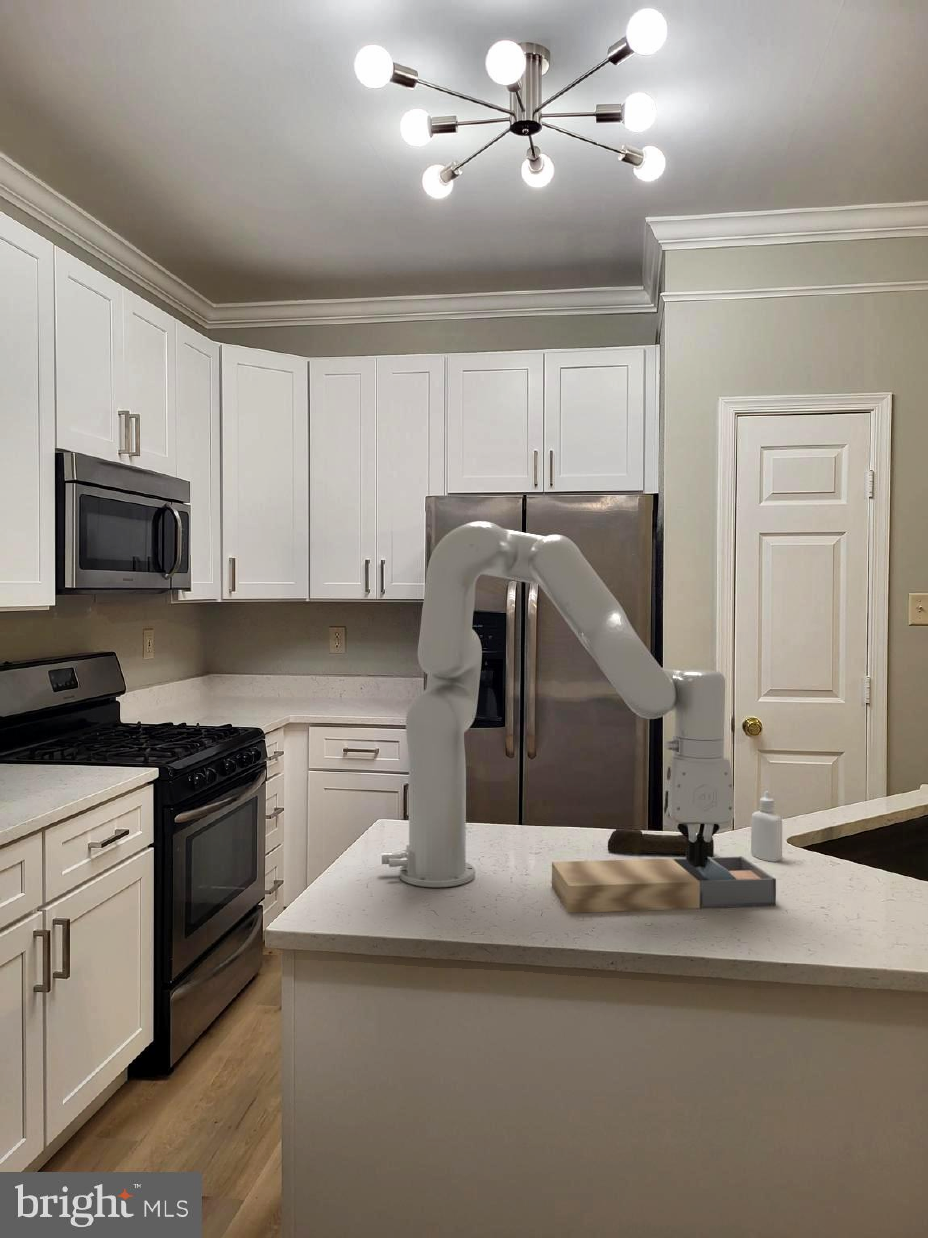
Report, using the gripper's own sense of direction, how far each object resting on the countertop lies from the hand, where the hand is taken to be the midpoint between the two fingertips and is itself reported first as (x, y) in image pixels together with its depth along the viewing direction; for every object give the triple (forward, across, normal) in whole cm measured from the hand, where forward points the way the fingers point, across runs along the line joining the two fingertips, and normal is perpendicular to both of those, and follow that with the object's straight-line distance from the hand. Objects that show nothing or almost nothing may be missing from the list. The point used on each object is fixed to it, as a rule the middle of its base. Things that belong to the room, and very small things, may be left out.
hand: (696, 864), depth 136 cm
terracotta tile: (+2, +7, 0) cm, 8 cm away
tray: (+5, +4, 0) cm, 6 cm away
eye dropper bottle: (+5, +20, +18) cm, 27 cm away
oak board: (+5, -12, 0) cm, 13 cm away
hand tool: (+5, +2, +22) cm, 23 cm away
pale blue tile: (+2, +2, -1) cm, 3 cm away
